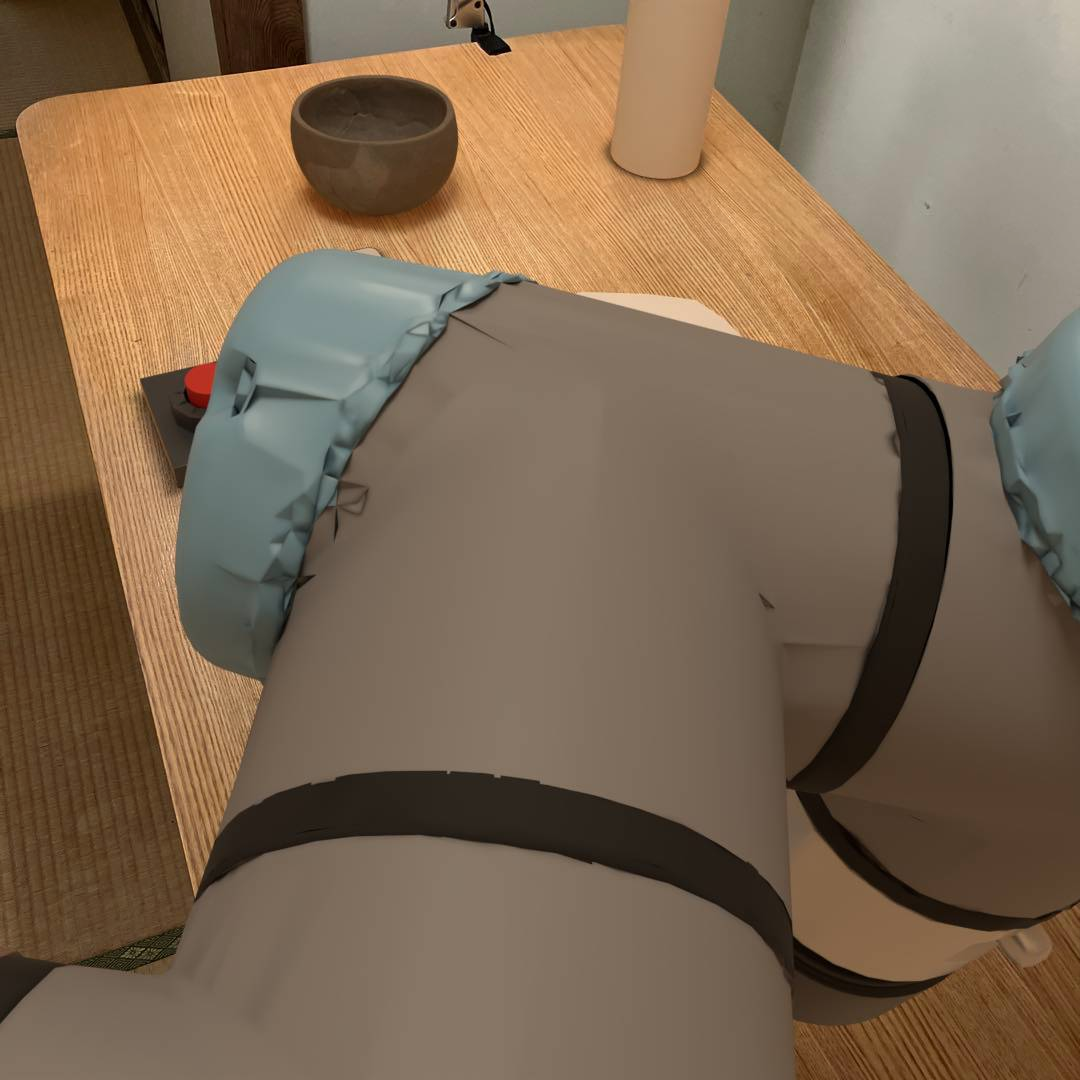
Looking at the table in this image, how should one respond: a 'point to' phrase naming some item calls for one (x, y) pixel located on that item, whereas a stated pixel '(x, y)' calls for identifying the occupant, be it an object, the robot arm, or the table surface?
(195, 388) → the button
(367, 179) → the bowl
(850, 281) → the table surface
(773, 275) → the table surface
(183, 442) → the button block
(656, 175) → the tall pillar cylinder
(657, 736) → the robot arm
